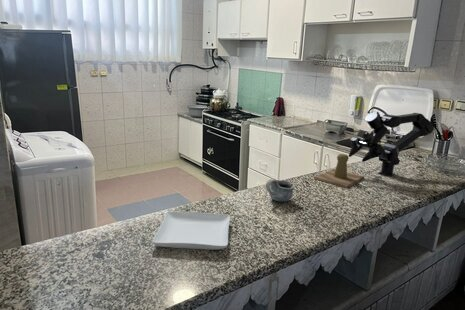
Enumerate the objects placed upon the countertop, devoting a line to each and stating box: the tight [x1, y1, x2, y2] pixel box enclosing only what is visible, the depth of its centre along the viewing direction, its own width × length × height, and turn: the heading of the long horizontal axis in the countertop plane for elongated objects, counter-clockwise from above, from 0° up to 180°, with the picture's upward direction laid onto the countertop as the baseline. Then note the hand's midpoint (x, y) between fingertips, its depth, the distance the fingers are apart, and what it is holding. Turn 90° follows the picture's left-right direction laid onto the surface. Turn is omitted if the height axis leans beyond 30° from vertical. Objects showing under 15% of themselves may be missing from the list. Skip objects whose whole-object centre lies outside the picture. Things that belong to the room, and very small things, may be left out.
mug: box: [265, 177, 295, 203], centre depth 133 cm, size 10×12×10 cm
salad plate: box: [151, 211, 231, 250], centre depth 104 cm, size 21×21×3 cm
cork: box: [334, 153, 349, 179], centre depth 163 cm, size 6×6×11 cm
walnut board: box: [314, 168, 365, 189], centre depth 165 cm, size 20×16×1 cm
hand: (355, 158), depth 165 cm, fingers open, 9 cm apart
